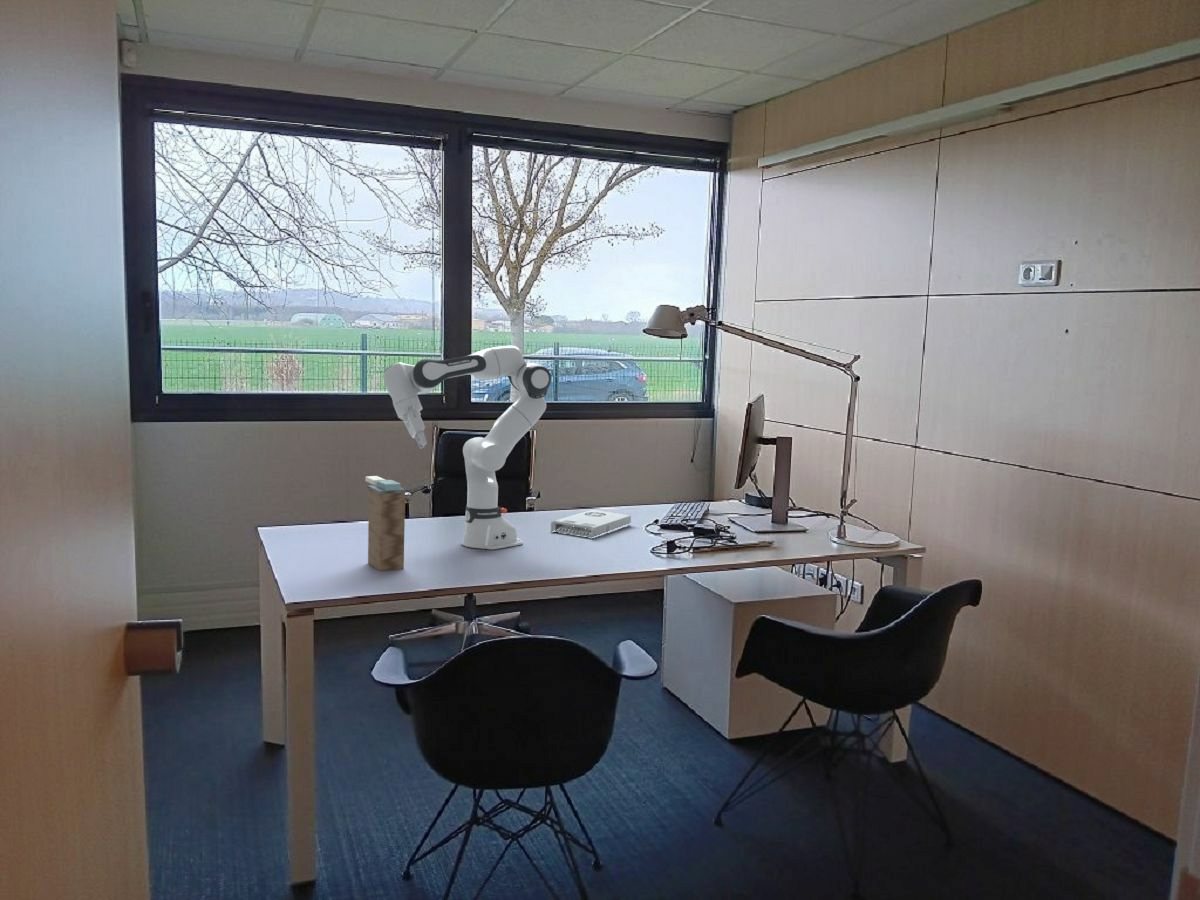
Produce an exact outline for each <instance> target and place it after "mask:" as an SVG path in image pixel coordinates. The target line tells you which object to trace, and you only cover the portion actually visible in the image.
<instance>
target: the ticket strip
mask: <svg viewBox="0 0 1200 900" xmlns="http://www.w3.org/2000/svg"><path fill="white" fill-rule="evenodd" d="M365 482H367V483H369V484H371V485H376V486H377V487H378V488H381V489H383V490H385V491H390V490H401V487H402V483H400V482H397V481H395V480H393V479H385V478H383V477H380V476H378V475H370V476H365Z"/></svg>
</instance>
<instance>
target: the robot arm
mask: <svg viewBox="0 0 1200 900" xmlns="http://www.w3.org/2000/svg"><path fill="white" fill-rule="evenodd" d="M466 375H470V376H473V377H474V379H476V380H479V381H490V380H495V379H499V378H503V377H507V378H508V381H509V382H510V384H511V386H512V387H513V388H514V389H515V390H517V391H519V395H518V397H517V399H516V400H515V401H514V402H513V403H512V404H511V405H510V406H509V407H507V409H506V410H505V411H504V412H502V414H501V415H500V416H499V417H498V418H497V419H496V420H495V421H494V423H493V426H492V428H491V429H490V430H489V432H488V434H487V435H486V436H485V437H482V436H477V437H473V438H470V439H468V440H467V441H465V443H464V445H463V447H462V455H463V458H464V467H465V474H466V482H467V483H466V484H467V485H466V486H467V492H466V495H467V497H466V498H467V499H466V502H467V503H466V506H465V516H464V517H465V526H464V527H465V529H464V534H463V536H462V537H463V538H462V541H461V545H462V546H464V547H467V548H472V549H486V550H499V549H503V548H509V547H514V546H515V547H516V546H521V545H523V543H524V541H523V540H522V539H520V538H519V537H517V535H518V534H517V529H516V527H515V525H513V524H512V523H511V522H509V521H508V520H507V519H506V518H505V517H503V515H505V514H507V508H504V507H501V506H498V503H499V502H498V501H499V499H498V497H499V485H498V482H497V477H496V472H497V471H499V470H500V469H502V468H503V467H504V466H505V463H506V460H507V458H508V456H509V454H511V452H512V451H513V449H514V447H515V445H516V444H517V443H518V442H519V441H520V440H521V439H522V438H523V437H524V436H525V435H526V434H527V433H528V432H529V431H530V430H531V428H533V426H534V425H536V423H537V422H538V421H539V420H540V419H541V417H542V415H543V414H544V413H545V411H546V410H547V401H546V399H545V396H546V395H547V392H548V389H549V387H550V385H551V383H552V373H551V372H550V370H549V369H548V368H547V367H546V366H544V365H543V364H540V363H535V362H528V361H525V359H524V355H523V352H522V351H521V349H520V348H519V347H517V346H516V345H500V346H494V347H488V348H485V349H481V350H478V351H475V352H474V353H471V354H468V355H465V356H464V355H463V356H459V357H453V358H449V359H438V358H434V357H433V358H432V357H425V358H421V359H420V360H418V361H417V362H416V364H415V365H414V364H408V363H403V362H401V361H398V362H395V363H393V364H391V365H390V366H388V367H387V368H386V369H385V370H384V372H383V375H382V376H383V380H384V384H385V387H386V390H387V392H388V394H389V396H390V398H391V400H392V406H393V408H394V410H395V413H396V415H397V418H398V419H400V420H401V421H402V422H403V423H404V425H405V427H406V428H405V429H406V430H407V431H408V434H409V435H410V437H411V439H415V441H416V443H417V444H418V447H419V449H423V448H425V447H426V445H427V443H428V442H427V438H426V435H425V432H424V430H425V429H426V426H425V424H424V421H423V419H422V417H421V415H422V413H421V411H422V410H423V406H422V403H421V401H420V399H419V395H424V394H425V395H426V394H429V393H431V392H432V391H433V390H435V389H436V387H438V385H440V384H441V383H442V382H444V381H445V380H446V379H452V378H455V377H456V378H457V377H462V376H466ZM502 514H503V515H502Z"/></svg>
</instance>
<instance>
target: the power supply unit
mask: <svg viewBox="0 0 1200 900" xmlns="http://www.w3.org/2000/svg"><path fill="white" fill-rule="evenodd" d="M629 523H632V515H630V514H624V513H617V512H611V511H605V510H599V509H598V510H596V509H590V510H587V511H583V512H579V513H576V514H572V515H570V516H566V517H565V516H564V517H562V518H559V519H556V520H552V521H550V533H551V532H552V531H554V530H555V531H556V532H560V533H566V534H572V535H580V536H587V537H591V538H592V537H594V536H597V535H600V534H602V533H605V532H608V531H610V530H613V529H615V528H618V527H621V526H623V525H626V524H629ZM573 526H574V527H573ZM585 528H586V529H585ZM557 529H558V530H557ZM552 533H553V532H552Z"/></svg>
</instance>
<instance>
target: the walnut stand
mask: <svg viewBox="0 0 1200 900" xmlns="http://www.w3.org/2000/svg"><path fill="white" fill-rule="evenodd" d="M367 490H368V523H367V525H368V528H367V529H368V535H367V537H368V538H367V540H368V541H367V544H368V545H367V546H368V547H367V564H368V565H370V566H371V567H373V568H374V569H376V570H378V571H379V572H385V571H392V570H400V569H402V570H403V569H404V567H405V526H406V525H405V524H406V523H405V519H406V516H405V514H406V512H405V511H406V509H405V507H406V493H407V491H408V490H407V489H406V488H405V487H402V486H401V490H390V491H385V490H383V489H381V488H378V487H377V486H376V485H373V484H371V485H367Z"/></svg>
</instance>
